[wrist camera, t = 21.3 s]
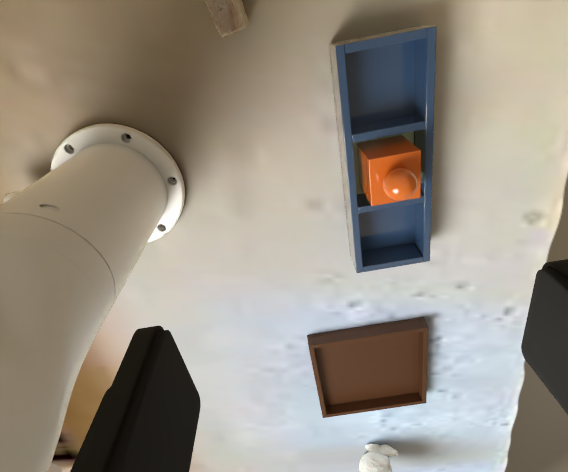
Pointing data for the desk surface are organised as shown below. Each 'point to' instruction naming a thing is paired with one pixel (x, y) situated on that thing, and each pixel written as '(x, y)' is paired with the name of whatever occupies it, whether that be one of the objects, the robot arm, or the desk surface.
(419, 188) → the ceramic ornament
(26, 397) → the robot arm
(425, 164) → the three-compartment dish
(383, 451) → the white lumpy piece
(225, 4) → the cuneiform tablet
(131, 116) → the desk surface
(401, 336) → the walnut tray
